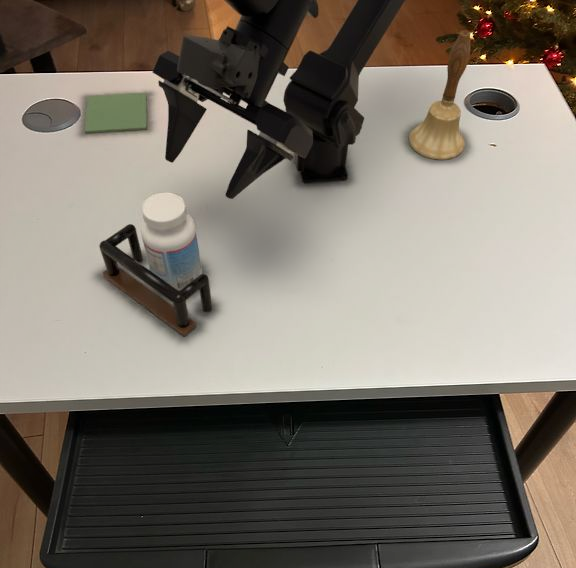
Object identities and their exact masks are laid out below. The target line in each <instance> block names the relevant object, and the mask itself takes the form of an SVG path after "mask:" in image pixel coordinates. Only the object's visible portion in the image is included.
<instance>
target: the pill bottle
mask: <svg viewBox="0 0 576 568" xmlns="http://www.w3.org/2000/svg"><path fill="white" fill-rule="evenodd" d="M186 206H187V205H186V202H185V200H184V199H183V198H182V197H181V196H180V195H178V194H176V193H173V192H159V193H155V194H153V195H150V196H149V197H148V198H146V200H144V202H143V203H142V207H141V213H142V218H143V222H142V224H141V228H140V235H141V240H142V243H143V247H144V250H145V254H146V258H147V262H148V266H149V270H150V271H151V272H153V273H154V274H156V275H157V276H158V277H160V278H161V279H163V280H164V281H165V282H167V283H168V284H170V285H171V286H172V287H174V288H175V289H177V290H178V291H180V290H181V289H183V288H184V287H185V286H186V285H188V284H189V283H190V282H192V281H193V280H194V279H195V278H197V277H198V276H199V275H201V274H203V269H202V261H201V256H200V248H199V242H198V241H199V240H198V235H197V229H196V225H195V222H194V219H193V218H192V217H191V215H189V213H188V210H187V207H186Z"/></svg>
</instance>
